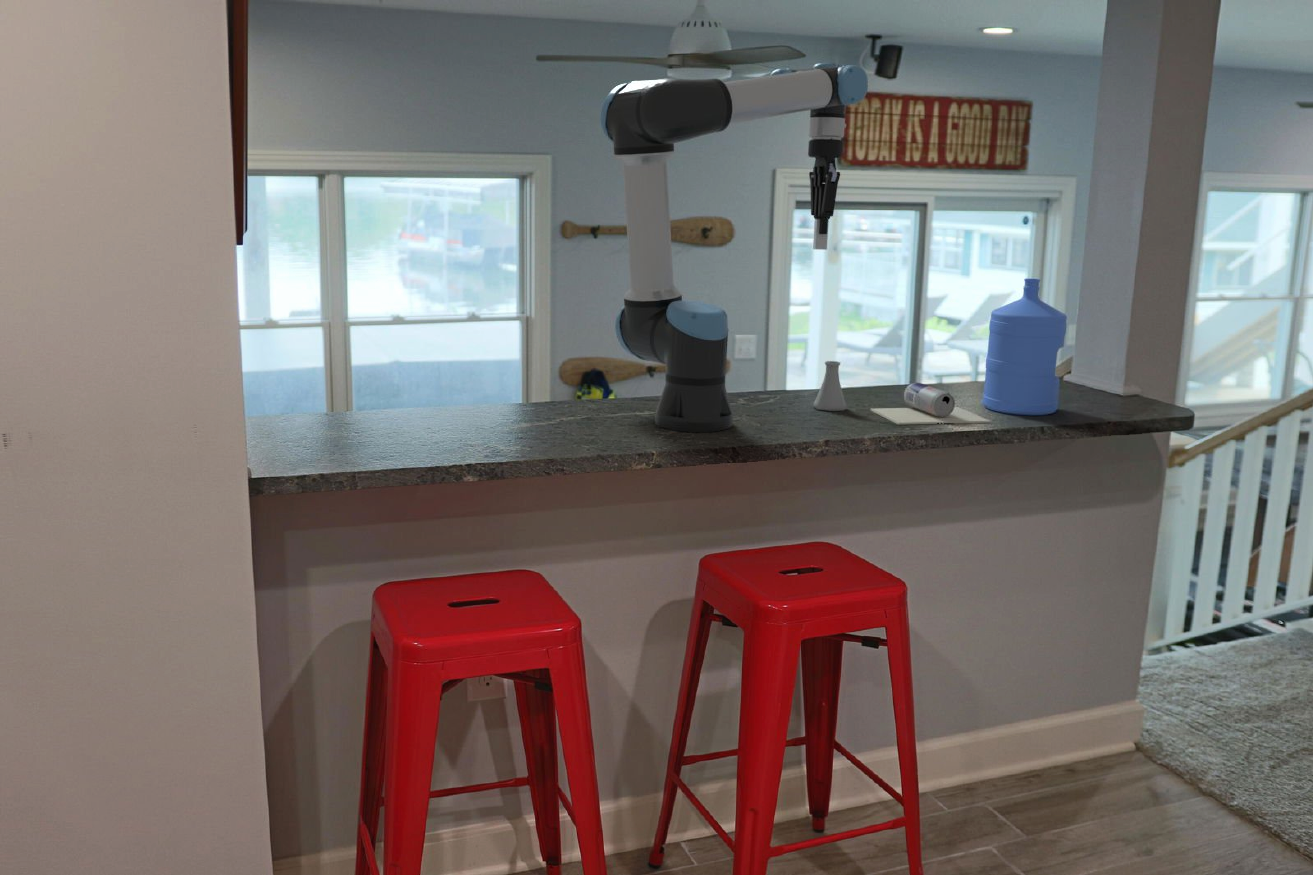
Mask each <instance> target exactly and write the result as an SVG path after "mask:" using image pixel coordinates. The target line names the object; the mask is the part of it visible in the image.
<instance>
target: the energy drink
mask: <svg viewBox="0 0 1313 875" xmlns="http://www.w3.org/2000/svg"><path fill="white" fill-rule="evenodd" d="M903 400H904V402H905V404H906V405H908V406H909V407H910V408H916V409H918V410H921V411H924V412H926V413H929V414H932V415H934V416H937V417H946V416H948V415H950V414H951V413H952V411H953V410H954V407H956V401H955V398H954V397H953V396H952V394H950V392H947V391H945V390H942V389H940V388H939V389H938V388H935V387H934V386H929V385H927V384H923V383H921V382H917V381H916V382H912V383H909V384H908V385H907V386H906V388H905V389H904V392H903Z"/></svg>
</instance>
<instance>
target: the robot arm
mask: <svg viewBox="0 0 1313 875" xmlns="http://www.w3.org/2000/svg"><path fill="white" fill-rule="evenodd" d="M868 83H869V78H868V75H867V73H866V70H864V69H863V67H861V66H860V65H856V64H843V63H840V62H839V63H837V62H821V63H820V62H819V63H815V64H814V65H813V67H812V68H802V69H792V68H790V67H787V68H777V69H775V70H773V71H772V72H771V74H769V75H767V76H759V77H751V78H746V79H741V80H740V79H738V80H731V81H726V82H725V81H723V80H722V79H721V78H717V77H713V78H704V79H700V78H699V79H698V78H697V79H692V78H691V79H690V78H687V79H686V78H671V77H670V78H668V77H667V78H659V79H651V80H648V79H647V80H634V81H629V82H626V83H621V84H619V85H617V86H615V87H613V89H612V90H610V92H608V95H606V97H605V99H604V101H603V103H602V106H601V109H600V126H601V128H602V131H603V133H604V135H605V136H607V138H608V140H610V141H611V142H612V143H613V156H614V158H615V159H617V160H618V161H619V162H620V163H621V165H622V174H623V175H622V176H623V187H624V188H623V190H624V205H625V217H626V233H627V237H626V238H627V250H628V264H629V265H628V266H629V281H630V288H629V289H628V291H626V293H625V294H624V295H623V301H624V302H623V304H624V305H623V306H622V307H621V308H620V311H619V313H618V314H617V315H616V319H615V326H614V327H615V334H616V338H617V341H618V343H619V344H620V346H621V348H622V349H623V350H624V351H625V352H627V353H628V354H629V355H631V356H632V357H633V356H634V357H635V358H637V359H640V360H642V361H647V362H654V363H658V364H662V365H665V381H664V382H665V383H664V387H663V390H662V393H661V396H660V399H659V401H658V404H657V407H656V410H655V416H654V417H655V421H654V422H655V425H656V426H658V427H659V428H660V427H661V428H663V429H667V430H672V431H680V432H687V433H688V432H689V433H711V432H718V431H723V430H728V429H730V428H732V427H733V424H734V414H733V410H732V406H731V403H730V400H729V395H728V392H727V388H726V375H727V373H726V372H727V357H728V341H729V340H728V337H729V327H728V326H729V325H728V324H729V323H728V315H727V312H726V311H725V310H724V309H723V308H722V307H720V306H718V305H715V304H714V303H713V304H712V303H708V302H701V301H697V300H683V297H682V296H683V295H682V292H681V290H679V289H678V287H676V286H675V284H674V270H673V269H674V268H673V251H672V250H673V249H672V234H671V220H670V219H671V215H670V198H669V197H670V195H669V179H668V178H669V177H668V161H669V160H670V158H671V157H672V156H673V155H674V153H675V146H674V145H675V144H676V143H680V142H684V141H688V140H691V139H692V140H693V139H695V138H699V137H703V136H706V135H711V134H714V133H719V132H723V131H726V130H727V129H728V128H729V127H730V125H733V124H737V123H738V124H739V123H745V122H750V121H754V120H760V119H766V118H772V117H778V116H783V115H790V114H796V113H801V112H806V111H810V112H809V113H810V114H809V127H808V128H809V129H808V136H809V137H810V138H811V139H809V141H808V150H807V156H808V157H809V158H815V160H814V164H813V169H812V171H809V173H808V175H809V176H808V177H809V183H810V184H809V185H810V215H811V216H813V219H814V227H813V241H812V242H813V243H812V244H813V245H812V249H813V250H828V240H829V238H828V235H829V221H830V220H831V217H834V212H835V205H836V199H837V193H838V192H837V191H838V186H839V181H840V177H841V172H840V171H837V165H836V159H841V158H843V156H844V144H845V142H844V140H842V139H843V138H844V136H845V129H846V128H847V123H846V111H847V110H846V109H847V106H851V105H857V104H859V103H860V102H862V101H863V100H864V99H865V97H866V95H867V92H868V89H869V88H868V87H869V84H868Z"/></svg>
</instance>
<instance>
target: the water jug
mask: <svg viewBox="0 0 1313 875" xmlns="http://www.w3.org/2000/svg"><path fill="white" fill-rule="evenodd" d="M1040 281H1041V279H1039V278H1024V281H1023V282H1024V286H1023V294H1022V297H1020V299H1017V300H1014V301H1012V302H1010V303H1007V304H1006V305H1002V306H1000V307H998V308H995V309H993V310H992V311H991V313H990V314H991V315H990V319H989V325H988V326H989V327H988V328H989V334H988V343H987V344H988V345H987V352H986V353H987V355H986V357H985V358H986V359H985V373H984V374H985V376H984V378H985V379H984V387H983V393H982V400H981V403H982V405H983V406H984V407H985V408H986V409H988V410H991V411H993V412H996V413H997V412H998V413H1002V414H1007V415H1017V416H1044V415H1045V416H1047V415H1051V414H1054V413H1055V412H1057V410H1058V407H1059V393H1060V392H1059V390H1060V381H1061V380H1060V378H1059V377H1058V376H1056V369H1057V368H1056V367H1057V359H1058V352H1059V350H1060V349H1062V348H1064V345H1065V337H1066V332H1067V318H1068V317H1067V315H1066V314H1065V313H1063V312H1062V311H1060V310H1058V309H1057V308H1055V307H1053V306H1051V305H1050V304H1048V303H1046V302H1044V301H1043V300H1041V299H1040V298H1039V291H1040Z"/></svg>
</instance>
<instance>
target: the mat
mask: <svg viewBox="0 0 1313 875" xmlns="http://www.w3.org/2000/svg"><path fill="white" fill-rule="evenodd" d="M870 411H871V412H872V413H874V414H877V415H878V416H881V417H883V418H884V419H886V420H887V421H890V422H892V423H894V424H896V425H899V426H900V425H941V423H942V425H945V424H944V423H954V424H989V423H991V420H989V419H986V418H984V417H982V416H980V415H977V414H974V412H970V411H967V410H966V409H963V408H961V407H958V406H955V407H954V410H953V411H952V413H951V414H950V415H948V416H946V417H937V416H934V415H932V414H929V413H926V412H924V411H921V410H918V409H916V408H913V407H890V408H887V407H884V408H883V407H882V408H881V407H880V408H879V407H878V408H870ZM937 423H939V424H937Z"/></svg>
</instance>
